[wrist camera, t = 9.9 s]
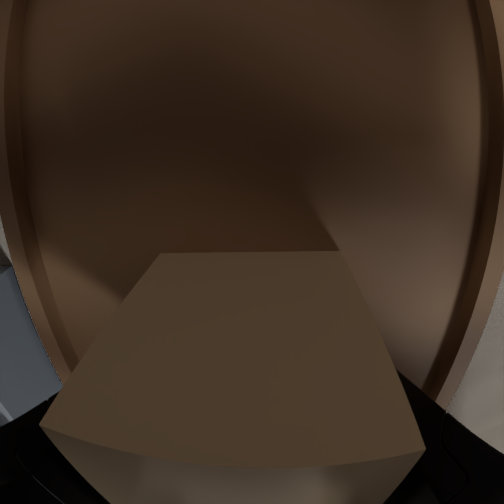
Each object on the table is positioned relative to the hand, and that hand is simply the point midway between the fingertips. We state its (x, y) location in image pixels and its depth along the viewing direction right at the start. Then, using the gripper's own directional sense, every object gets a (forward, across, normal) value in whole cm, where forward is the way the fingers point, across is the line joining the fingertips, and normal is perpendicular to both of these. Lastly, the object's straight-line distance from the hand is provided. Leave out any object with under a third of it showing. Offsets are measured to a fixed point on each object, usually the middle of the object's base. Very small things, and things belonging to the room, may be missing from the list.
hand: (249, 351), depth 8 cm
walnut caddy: (+2, 0, -4) cm, 5 cm away
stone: (+1, 0, 0) cm, 1 cm away
